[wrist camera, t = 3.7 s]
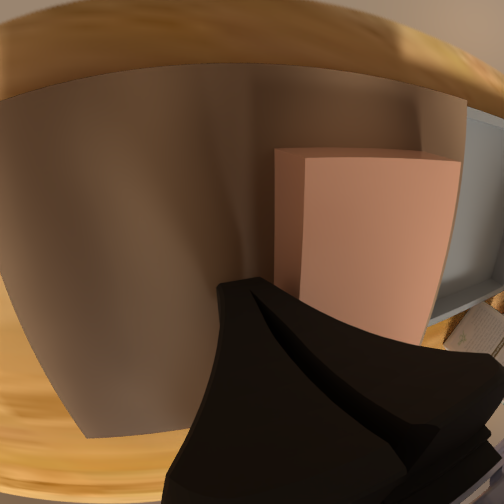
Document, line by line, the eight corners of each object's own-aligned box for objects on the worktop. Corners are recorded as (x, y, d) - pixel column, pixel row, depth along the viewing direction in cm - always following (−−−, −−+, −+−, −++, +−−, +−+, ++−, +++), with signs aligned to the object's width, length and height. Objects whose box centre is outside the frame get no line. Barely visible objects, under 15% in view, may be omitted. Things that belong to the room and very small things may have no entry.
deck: (407, 95, 13) (467, 100, 10) (379, 321, 19) (415, 358, 16) (18, 111, 9) (-31, 113, 5) (91, 380, 15) (86, 438, 11)
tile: (421, 151, 10) (461, 161, 9) (386, 341, 14) (410, 366, 12) (274, 148, 9) (304, 158, 7) (271, 376, 13) (289, 411, 11)
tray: (517, 127, 17) (536, 132, 15) (488, 280, 23) (503, 290, 21) (407, 95, 13) (435, 97, 12) (379, 321, 19) (396, 339, 18)
